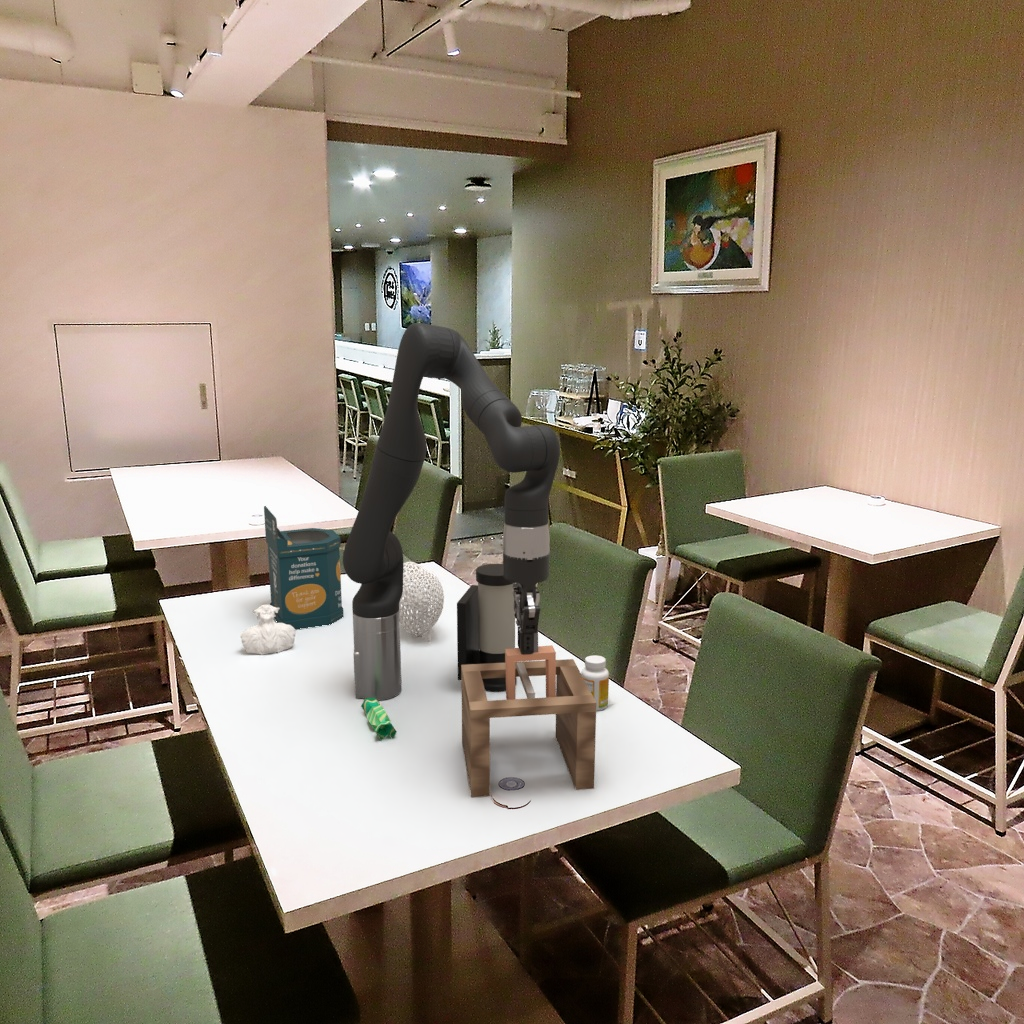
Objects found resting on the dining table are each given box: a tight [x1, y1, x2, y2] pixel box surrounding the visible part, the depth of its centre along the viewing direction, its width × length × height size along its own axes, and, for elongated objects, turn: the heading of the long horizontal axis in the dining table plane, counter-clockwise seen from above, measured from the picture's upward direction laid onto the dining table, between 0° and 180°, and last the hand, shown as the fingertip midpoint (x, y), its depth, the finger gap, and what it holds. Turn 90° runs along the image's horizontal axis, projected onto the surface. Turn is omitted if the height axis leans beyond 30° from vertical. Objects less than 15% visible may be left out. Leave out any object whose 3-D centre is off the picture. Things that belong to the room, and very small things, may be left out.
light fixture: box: [456, 563, 518, 693], centre depth 179 cm, size 12×11×25 cm
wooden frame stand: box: [460, 658, 597, 798], centre depth 148 cm, size 20×18×16 cm
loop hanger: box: [505, 625, 557, 700], centre depth 146 cm, size 8×3×15 cm, turn 98°
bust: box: [240, 603, 296, 655], centre depth 199 cm, size 12×8×11 cm
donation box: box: [263, 505, 345, 630], centre depth 218 cm, size 16×16×28 cm
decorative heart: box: [399, 561, 445, 643], centre depth 206 cm, size 18×11×17 cm, turn 29°
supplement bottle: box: [580, 655, 610, 712], centre depth 171 cm, size 5×5×10 cm
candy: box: [360, 698, 398, 742], centre depth 163 cm, size 12×3×4 cm
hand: (525, 650), depth 145 cm, fingers closed on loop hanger, 2 cm apart
